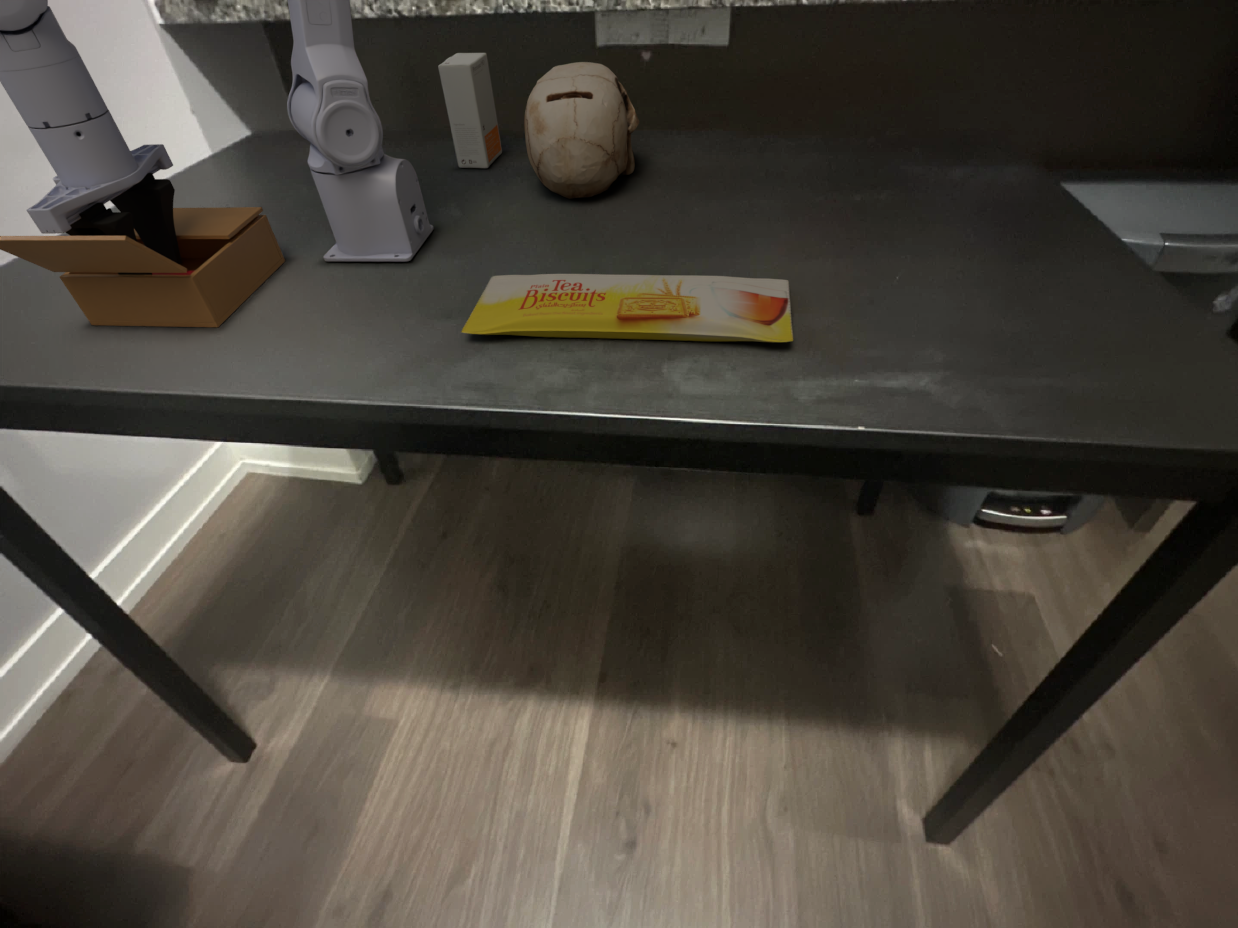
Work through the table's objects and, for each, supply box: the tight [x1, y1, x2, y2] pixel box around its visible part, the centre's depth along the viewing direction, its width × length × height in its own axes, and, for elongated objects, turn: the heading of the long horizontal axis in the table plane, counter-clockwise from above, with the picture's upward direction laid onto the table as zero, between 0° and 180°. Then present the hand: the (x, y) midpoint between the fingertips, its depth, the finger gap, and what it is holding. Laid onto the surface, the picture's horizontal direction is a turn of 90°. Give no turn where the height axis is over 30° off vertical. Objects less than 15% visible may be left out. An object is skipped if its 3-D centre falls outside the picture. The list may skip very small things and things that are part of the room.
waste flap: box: [0, 235, 187, 273], centre depth 56 cm, size 13×6×1 cm
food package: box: [460, 273, 794, 343], centre depth 59 cm, size 27×2×10 cm
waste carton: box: [59, 206, 286, 328], centre depth 66 cm, size 13×13×6 cm
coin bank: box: [523, 61, 640, 200], centre depth 80 cm, size 16×17×13 cm
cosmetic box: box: [437, 52, 503, 169], centre depth 86 cm, size 6×4×12 cm
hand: (157, 274), depth 63 cm, fingers open, 4 cm apart
